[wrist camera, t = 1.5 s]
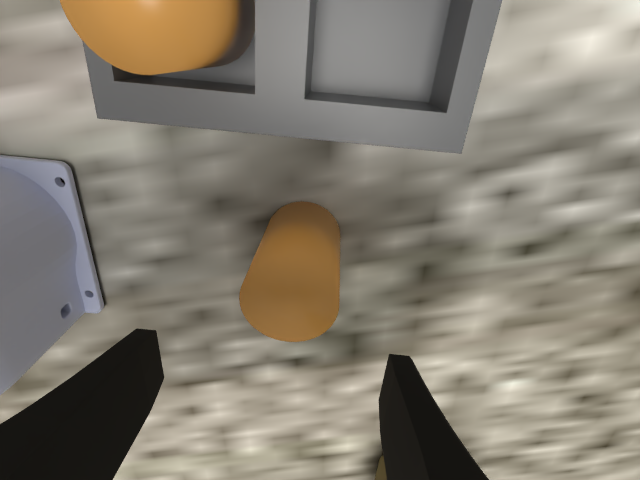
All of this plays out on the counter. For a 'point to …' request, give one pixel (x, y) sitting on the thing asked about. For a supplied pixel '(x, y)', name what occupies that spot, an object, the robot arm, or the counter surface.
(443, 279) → the counter surface
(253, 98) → the housing
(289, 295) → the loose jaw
